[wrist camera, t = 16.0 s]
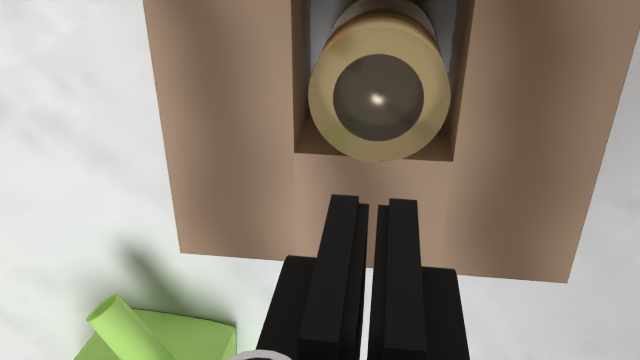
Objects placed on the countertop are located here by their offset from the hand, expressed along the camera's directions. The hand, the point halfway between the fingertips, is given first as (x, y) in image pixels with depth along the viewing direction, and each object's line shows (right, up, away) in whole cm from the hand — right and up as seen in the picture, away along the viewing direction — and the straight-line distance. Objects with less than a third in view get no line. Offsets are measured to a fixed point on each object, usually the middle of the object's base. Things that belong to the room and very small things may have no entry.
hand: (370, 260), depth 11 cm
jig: (+2, +8, +14) cm, 16 cm away
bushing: (+2, +8, +14) cm, 16 cm away
